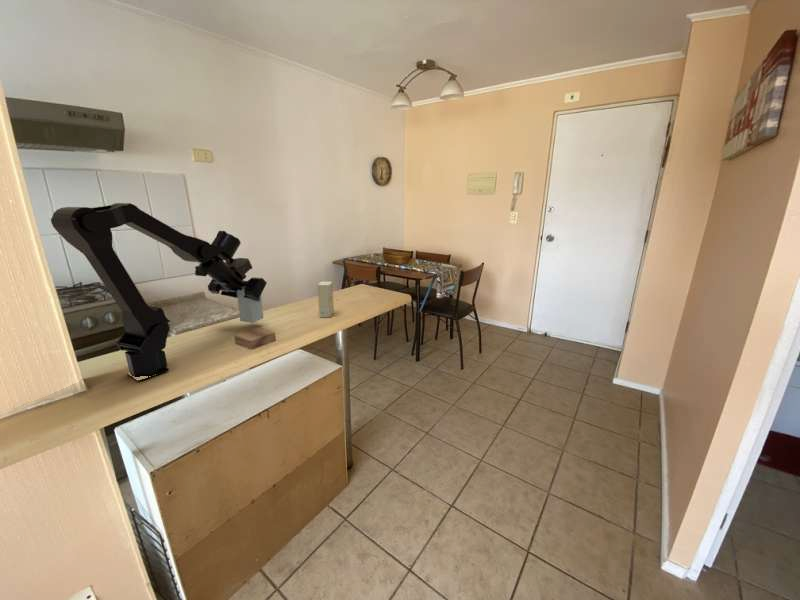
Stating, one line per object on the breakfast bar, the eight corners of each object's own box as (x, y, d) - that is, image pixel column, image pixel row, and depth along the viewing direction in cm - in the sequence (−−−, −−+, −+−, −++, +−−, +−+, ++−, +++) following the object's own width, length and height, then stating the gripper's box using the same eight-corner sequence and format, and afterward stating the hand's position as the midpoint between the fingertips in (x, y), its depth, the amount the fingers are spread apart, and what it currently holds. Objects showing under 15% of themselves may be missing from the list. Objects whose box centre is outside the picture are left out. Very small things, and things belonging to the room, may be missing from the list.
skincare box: (331, 317, 120) (329, 285, 117) (318, 317, 120) (316, 285, 117) (334, 312, 126) (332, 281, 123) (322, 312, 126) (320, 281, 123)
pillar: (252, 323, 107) (248, 286, 104) (240, 321, 109) (235, 285, 105) (263, 318, 112) (259, 283, 108) (251, 316, 113) (247, 282, 110)
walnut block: (251, 350, 94) (250, 341, 93) (235, 344, 98) (234, 335, 97) (275, 341, 100) (275, 332, 99) (259, 336, 104) (258, 327, 103)
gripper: (258, 251, 97) (286, 281, 110) (210, 248, 103) (241, 277, 116) (241, 283, 92) (272, 310, 105) (191, 278, 98) (226, 304, 111)
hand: (253, 299), depth 110 cm, fingers closed on pillar, 5 cm apart
